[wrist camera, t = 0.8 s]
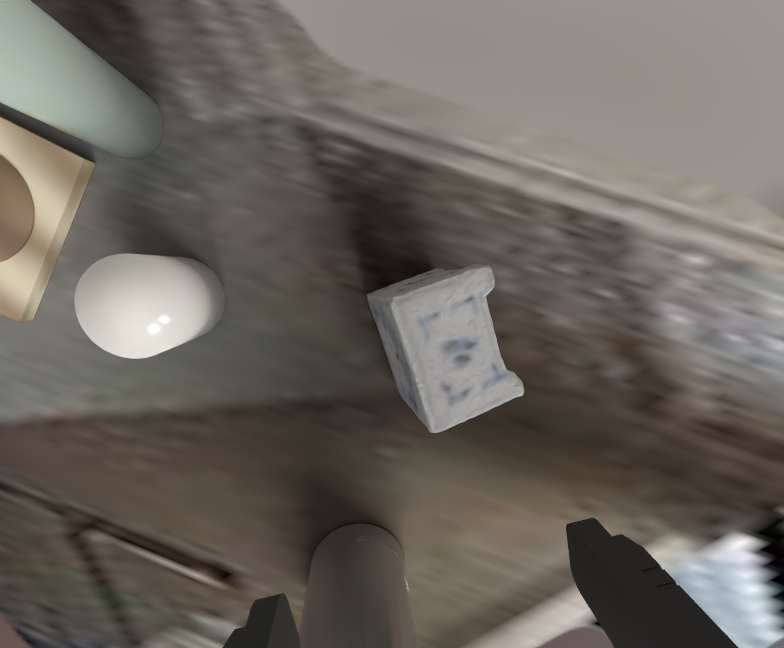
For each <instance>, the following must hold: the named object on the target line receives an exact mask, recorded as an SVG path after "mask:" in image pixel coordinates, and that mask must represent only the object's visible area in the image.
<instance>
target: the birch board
mask: <svg viewBox="0 0 784 648" xmlns="http://www.w3.org/2000/svg"><path fill="white" fill-rule="evenodd" d="M94 167H95V163H93V162H91V161H89V160H87V159H85V158H83V157H81V156H79V155H77V154H75V153H73V152H71V151H69V150H67V149H65V148H63V147H61V146H59V145H57V144H55V143H53V142H51V141H49V140H47V139H45V138H43V137H41V136H39V135H37V134H35V133H33V132H31V131H29V130H27V129H25V128H23V127H21V126H19V125H17V124H15V123H13V122H11V121H9V120H7V119H5V118H3V117H1V116H0V314H2V315H4V316H7V317H9V318H11V319H14V320H16V321H18V322H23V321H29V320H33V319H34V316H35V314H36V311H37V309H38V306H39V304H40V301H41V299H42V296H43V294H44V291H45V289H46V286H47V284H48V281H49V279H50V276H51V274H52V271H53V269H54V266H55V264H56V261H57V259H58V256H59V254H60V251H61V249H62V246H63V244H64V241H65V239H66V236H67V234H68V231H69V229H70V226H71V224H72V221H73V219H74V216H75V214H76V211H77V209H78V206H79V204H80V201H81V199H82V196H83V194H84V191H85V189H86V186H87V184H88V182H89V179H90V177H91V174H92V172H93V169H94Z"/></svg>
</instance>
